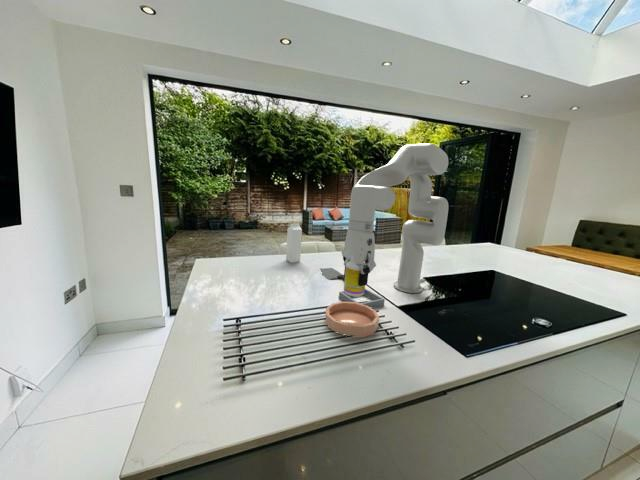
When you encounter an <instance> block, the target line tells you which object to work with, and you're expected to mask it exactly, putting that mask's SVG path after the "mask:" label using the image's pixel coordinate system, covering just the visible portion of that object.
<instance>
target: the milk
mask: <svg viewBox="0 0 640 480" xmlns="http://www.w3.org/2000/svg"><path fill="white" fill-rule="evenodd" d="M286 231H287V232H286V248H285V249H286V252H285V261H287V262H289V263H291V264H293V263H299V261H300V262H301V254H302V253H301V252H302V237H303V236H302V235H303V234H302V233H303V229H302V228H301V226H300V223H299V222H294V223H293V222H292V223H290V225H289V226H288V227H287V230H286Z"/></svg>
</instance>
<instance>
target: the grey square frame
mask: <svg viewBox="0 0 640 480" xmlns="http://www.w3.org/2000/svg"><path fill="white" fill-rule="evenodd" d="M363 296H365V297H367V298H369V299H370V300H369V301H364V302H358V301H356V300H355V299H353V298H352V297H351V296H350V295H347V294H346V293H345V292H344V290H343V291H342V290H341V291H339V293H338V299H340V300H342V302H356V303H359V304H363V305H366V306H369V307H374V308H378V307H381V306H385V298H383V297H381V296H379V294H378V295H377V294H376V293H374V292H373V291H371V290H369V289H367V288H365V290H364V294H363Z"/></svg>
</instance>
